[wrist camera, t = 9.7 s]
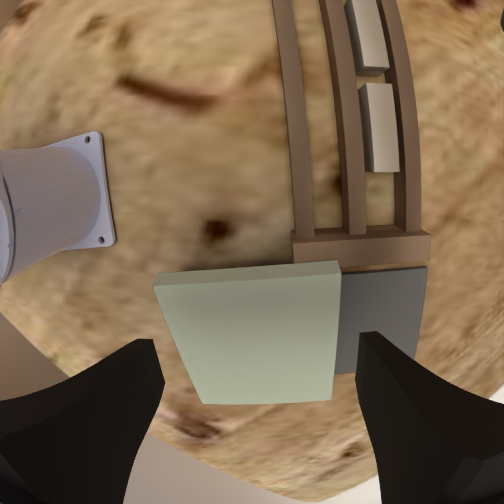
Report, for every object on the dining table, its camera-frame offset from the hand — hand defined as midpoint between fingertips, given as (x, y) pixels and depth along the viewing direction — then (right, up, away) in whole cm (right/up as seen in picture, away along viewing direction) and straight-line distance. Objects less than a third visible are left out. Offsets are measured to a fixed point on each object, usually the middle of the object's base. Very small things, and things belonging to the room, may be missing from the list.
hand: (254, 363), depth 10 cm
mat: (+6, -1, +11) cm, 12 cm away
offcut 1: (+7, +17, +5) cm, 19 cm away
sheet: (+5, -2, +9) cm, 10 cm away
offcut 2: (+7, +11, +7) cm, 15 cm away
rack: (+6, +14, +6) cm, 16 cm away
